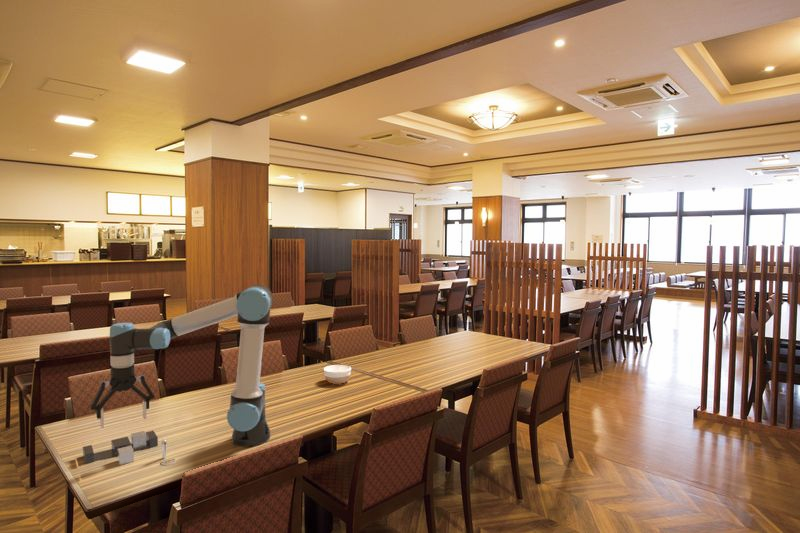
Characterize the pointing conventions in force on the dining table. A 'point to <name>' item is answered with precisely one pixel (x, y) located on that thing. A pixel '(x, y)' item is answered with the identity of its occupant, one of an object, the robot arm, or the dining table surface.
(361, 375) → the dining table surface
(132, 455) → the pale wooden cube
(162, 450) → the stand
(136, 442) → the light grey cube
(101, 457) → the rail
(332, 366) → the bowl
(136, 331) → the robot arm
